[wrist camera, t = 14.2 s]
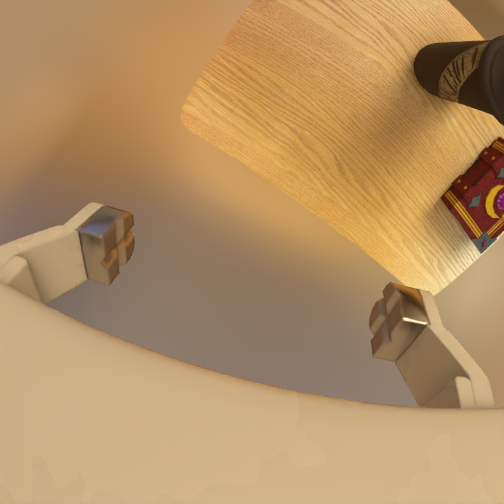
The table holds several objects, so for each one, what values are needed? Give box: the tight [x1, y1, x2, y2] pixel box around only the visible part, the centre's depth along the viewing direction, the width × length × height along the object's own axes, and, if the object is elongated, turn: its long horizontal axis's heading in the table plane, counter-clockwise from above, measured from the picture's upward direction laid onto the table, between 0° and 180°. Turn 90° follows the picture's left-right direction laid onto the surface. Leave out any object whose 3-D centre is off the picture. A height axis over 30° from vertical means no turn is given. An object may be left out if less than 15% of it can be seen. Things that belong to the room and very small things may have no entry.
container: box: [414, 35, 504, 126], centre depth 21 cm, size 9×9×20 cm
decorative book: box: [441, 137, 504, 253], centre depth 34 cm, size 11×16×5 cm
